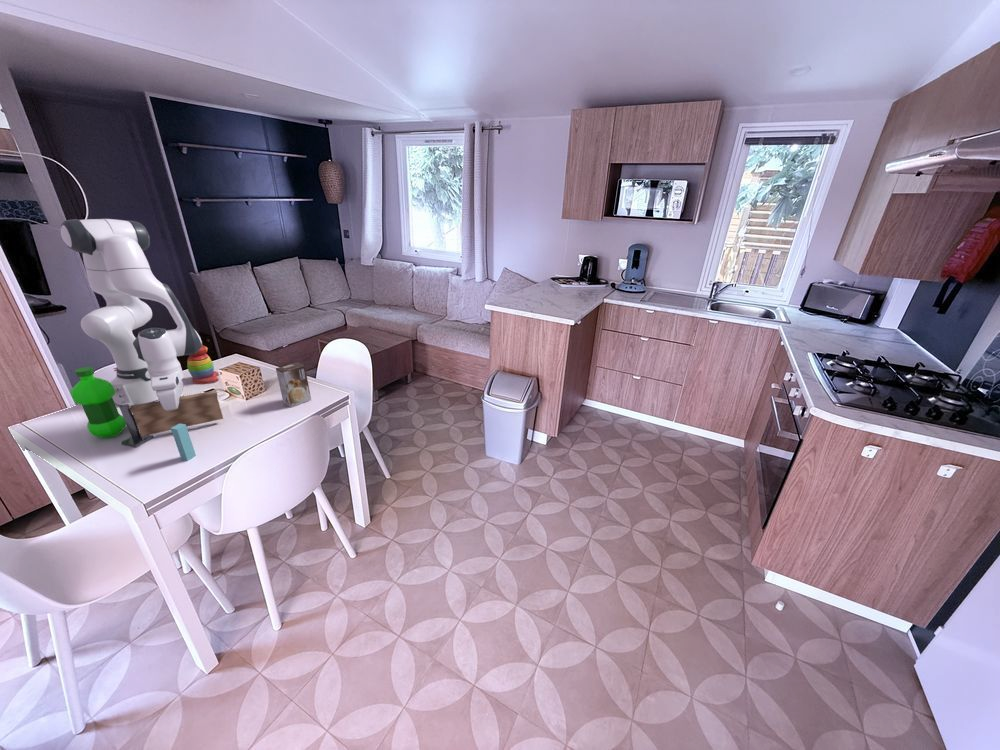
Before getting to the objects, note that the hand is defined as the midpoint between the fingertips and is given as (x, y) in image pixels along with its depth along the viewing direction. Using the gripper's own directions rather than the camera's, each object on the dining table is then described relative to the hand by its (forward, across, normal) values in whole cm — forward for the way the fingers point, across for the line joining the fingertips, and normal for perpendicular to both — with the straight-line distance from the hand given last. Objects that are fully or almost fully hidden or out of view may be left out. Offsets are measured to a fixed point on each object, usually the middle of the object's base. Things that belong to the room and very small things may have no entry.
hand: (178, 409), depth 144 cm
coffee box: (+8, -3, +38) cm, 39 cm away
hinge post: (+7, +4, -13) cm, 15 cm away
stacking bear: (+8, -43, +4) cm, 44 cm away
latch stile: (+7, +23, +3) cm, 24 cm away
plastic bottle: (+7, -5, -22) cm, 23 cm away
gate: (+5, +3, +1) cm, 6 cm away
